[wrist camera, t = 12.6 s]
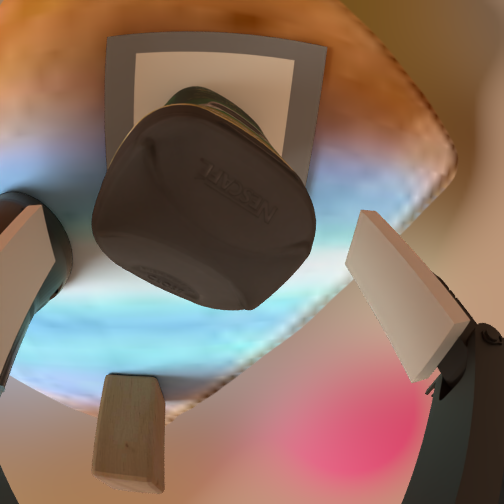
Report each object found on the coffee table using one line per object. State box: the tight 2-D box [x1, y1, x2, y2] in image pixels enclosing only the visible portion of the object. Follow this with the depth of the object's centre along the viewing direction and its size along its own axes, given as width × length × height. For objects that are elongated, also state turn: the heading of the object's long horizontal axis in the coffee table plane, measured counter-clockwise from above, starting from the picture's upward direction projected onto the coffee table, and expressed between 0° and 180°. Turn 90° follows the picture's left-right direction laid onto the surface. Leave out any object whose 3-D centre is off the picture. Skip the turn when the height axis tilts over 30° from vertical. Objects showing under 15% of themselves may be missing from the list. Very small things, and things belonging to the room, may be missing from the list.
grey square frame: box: [105, 32, 327, 186], centre depth 27 cm, size 20×20×2 cm
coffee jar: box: [92, 86, 316, 310], centre depth 18 cm, size 10×8×19 cm
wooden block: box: [91, 374, 165, 494], centre depth 41 cm, size 10×10×20 cm
